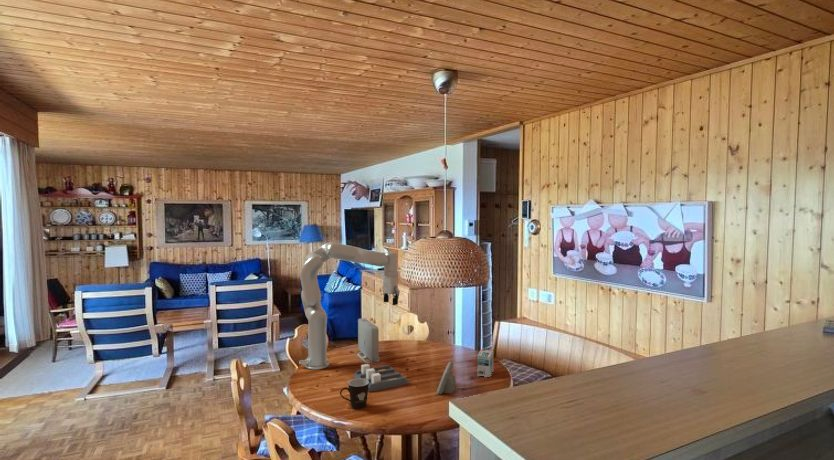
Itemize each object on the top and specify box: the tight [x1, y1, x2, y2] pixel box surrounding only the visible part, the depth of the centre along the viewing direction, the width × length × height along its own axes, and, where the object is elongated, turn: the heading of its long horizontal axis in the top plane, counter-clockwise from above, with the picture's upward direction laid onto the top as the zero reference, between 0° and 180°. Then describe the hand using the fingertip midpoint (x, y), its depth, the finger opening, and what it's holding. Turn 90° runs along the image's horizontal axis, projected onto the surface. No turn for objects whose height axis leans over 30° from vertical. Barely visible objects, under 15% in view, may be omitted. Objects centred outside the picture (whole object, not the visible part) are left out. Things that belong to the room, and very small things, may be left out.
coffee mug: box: [339, 378, 369, 410], centre depth 177 cm, size 12×9×10 cm
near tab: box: [371, 373, 381, 383], centre depth 197 cm, size 4×3×4 cm
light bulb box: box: [476, 349, 494, 378], centre depth 214 cm, size 11×7×11 cm, turn 161°
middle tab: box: [366, 367, 375, 379], centre depth 203 cm, size 4×3×4 cm
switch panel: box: [353, 364, 409, 393], centre depth 205 cm, size 20×20×3 cm
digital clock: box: [436, 361, 456, 395], centre depth 195 cm, size 16×9×11 cm, turn 155°
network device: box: [357, 317, 381, 364], centre depth 239 cm, size 26×9×20 cm, turn 25°
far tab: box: [360, 363, 371, 374], centre depth 209 cm, size 4×3×4 cm
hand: (390, 303), depth 242 cm, fingers open, 9 cm apart
